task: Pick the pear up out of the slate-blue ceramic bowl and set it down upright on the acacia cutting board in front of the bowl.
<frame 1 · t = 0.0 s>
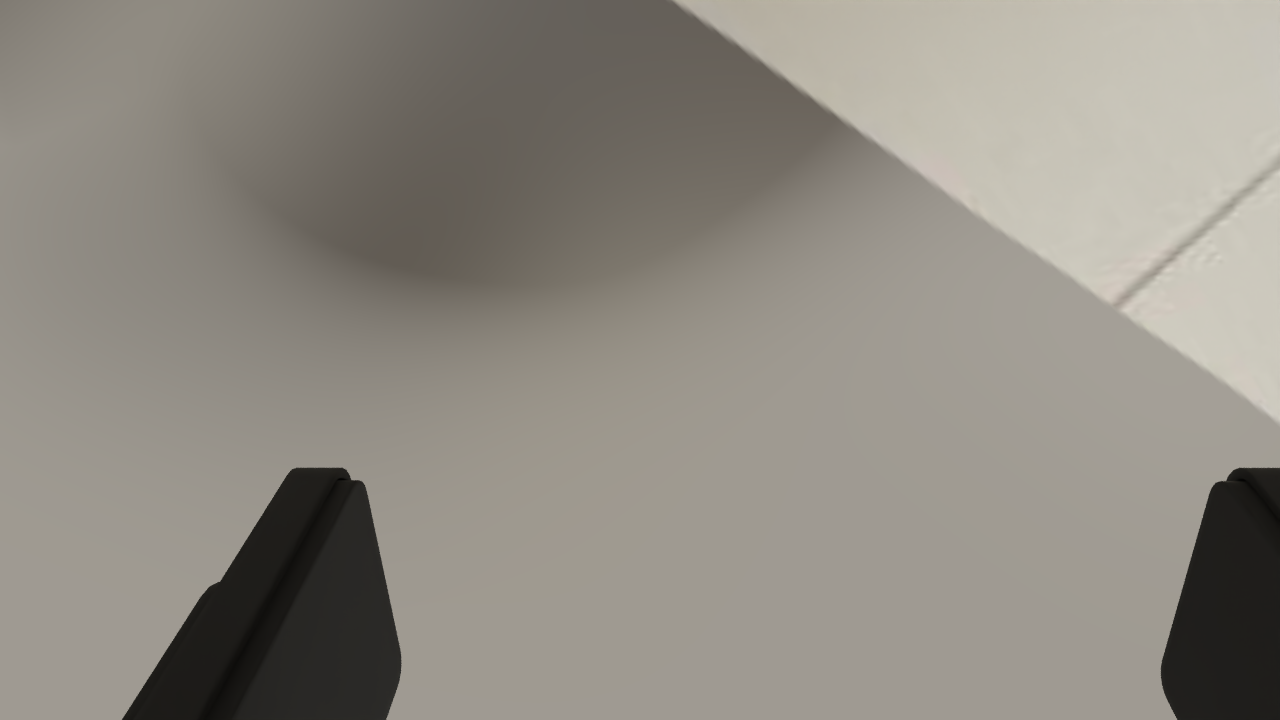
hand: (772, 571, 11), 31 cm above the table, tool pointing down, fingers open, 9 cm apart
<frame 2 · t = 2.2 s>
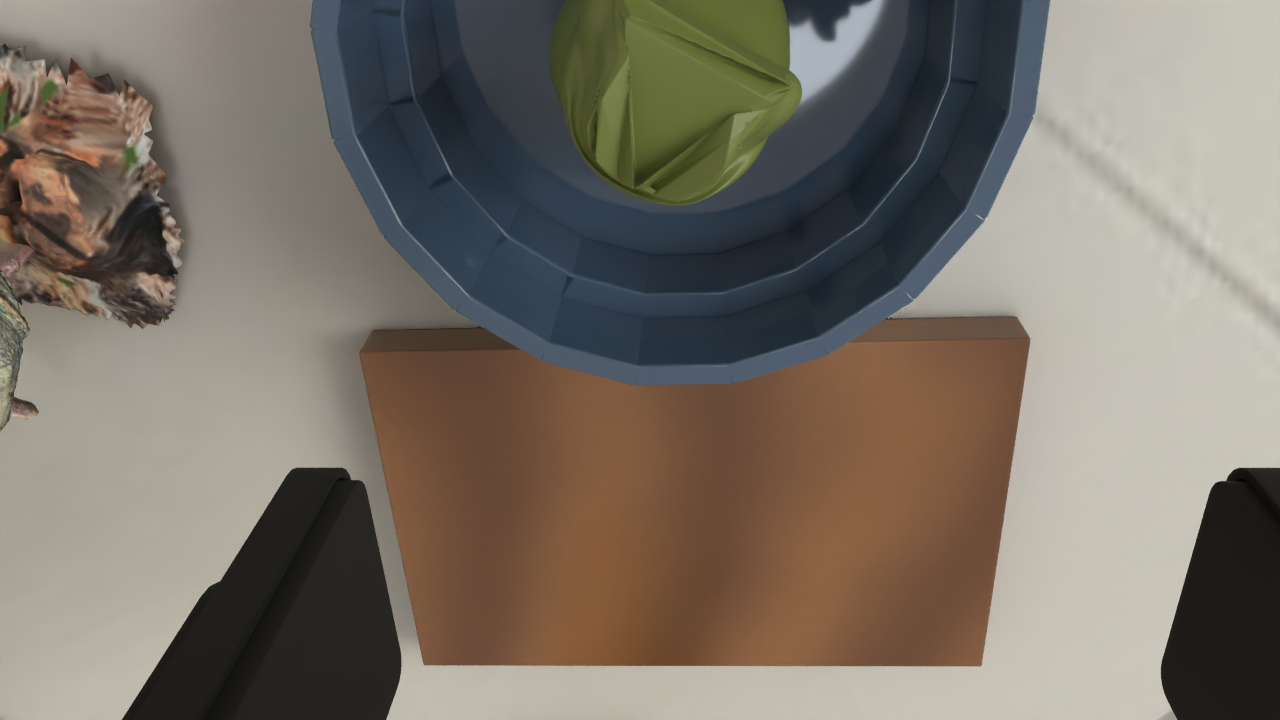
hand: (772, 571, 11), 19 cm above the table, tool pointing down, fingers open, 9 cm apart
pear: (677, 24, 27), resting on bowl
bowl: (678, 21, 27), on the table
cutting board: (692, 493, 34), on the table
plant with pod: (63, 216, 31), on the table
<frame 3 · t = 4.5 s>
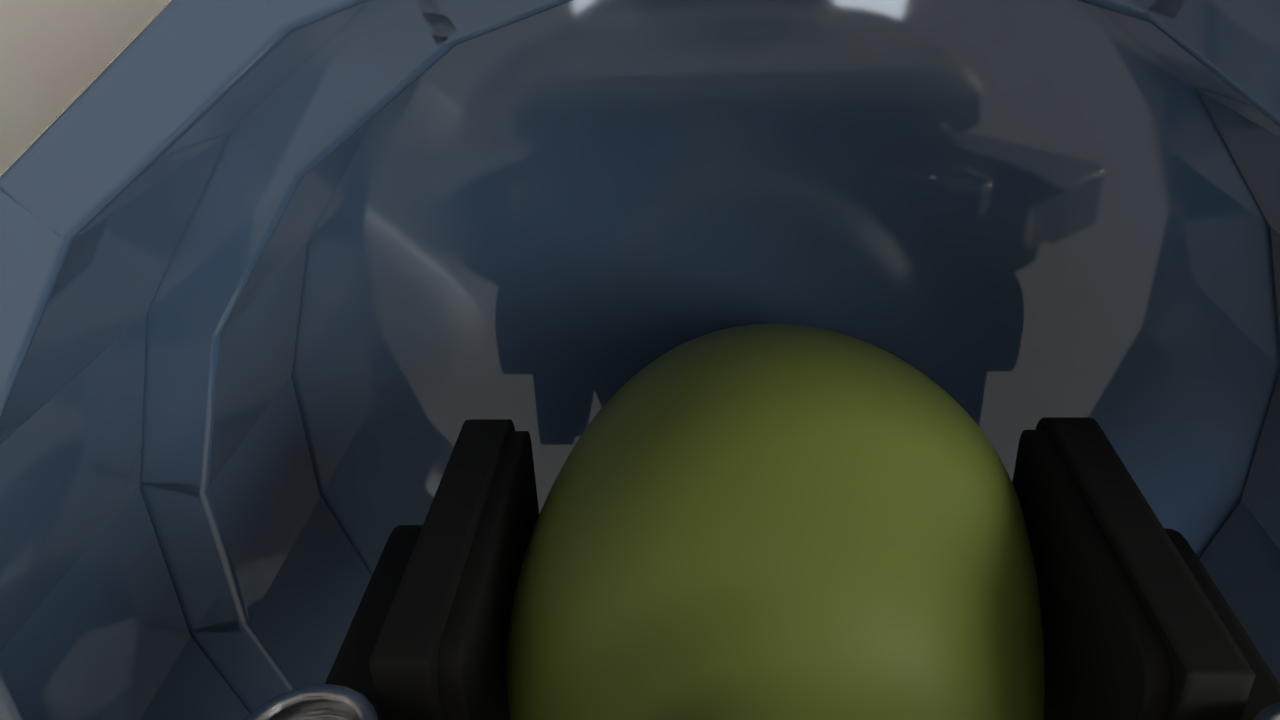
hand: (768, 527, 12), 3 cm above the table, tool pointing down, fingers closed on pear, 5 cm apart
pear: (766, 426, 14), resting on bowl, touching gripper
bowl: (765, 414, 14), on the table
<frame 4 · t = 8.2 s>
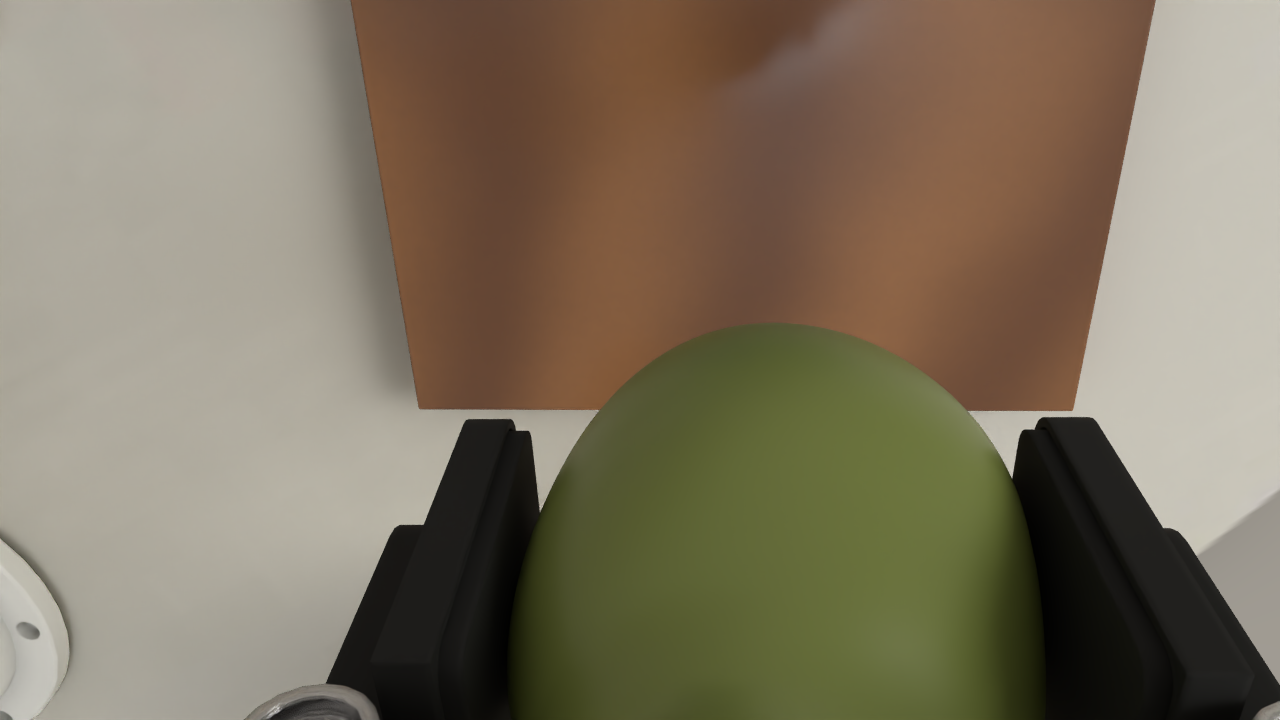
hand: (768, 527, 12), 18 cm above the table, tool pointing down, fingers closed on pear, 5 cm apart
pear: (766, 426, 14), point 16 cm above the table, touching gripper
cutting board: (739, 191, 29), on the table
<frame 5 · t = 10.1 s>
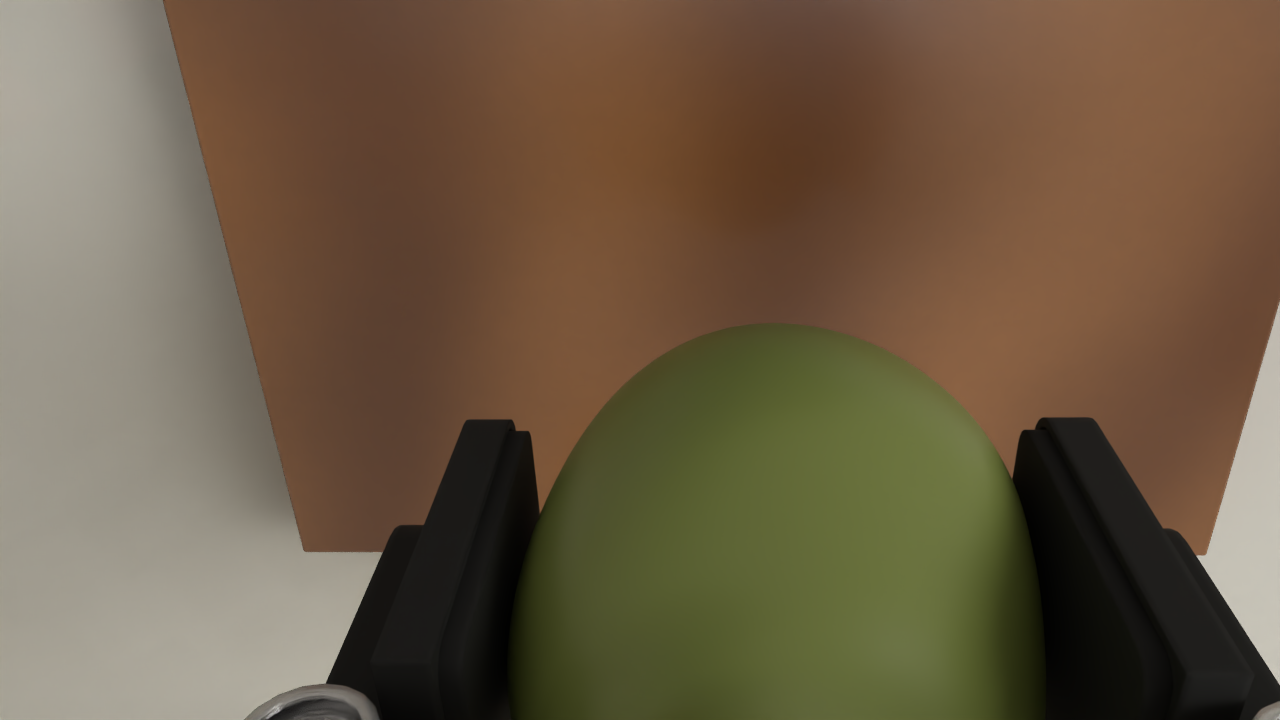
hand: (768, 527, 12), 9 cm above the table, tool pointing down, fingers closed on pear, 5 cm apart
pear: (766, 426, 14), point 7 cm above the table, touching gripper
cutting board: (740, 258, 21), on the table
when the fingers open (4 cm above the table, at t = 11.9 s): pear stays where it is, resting on cutting board.
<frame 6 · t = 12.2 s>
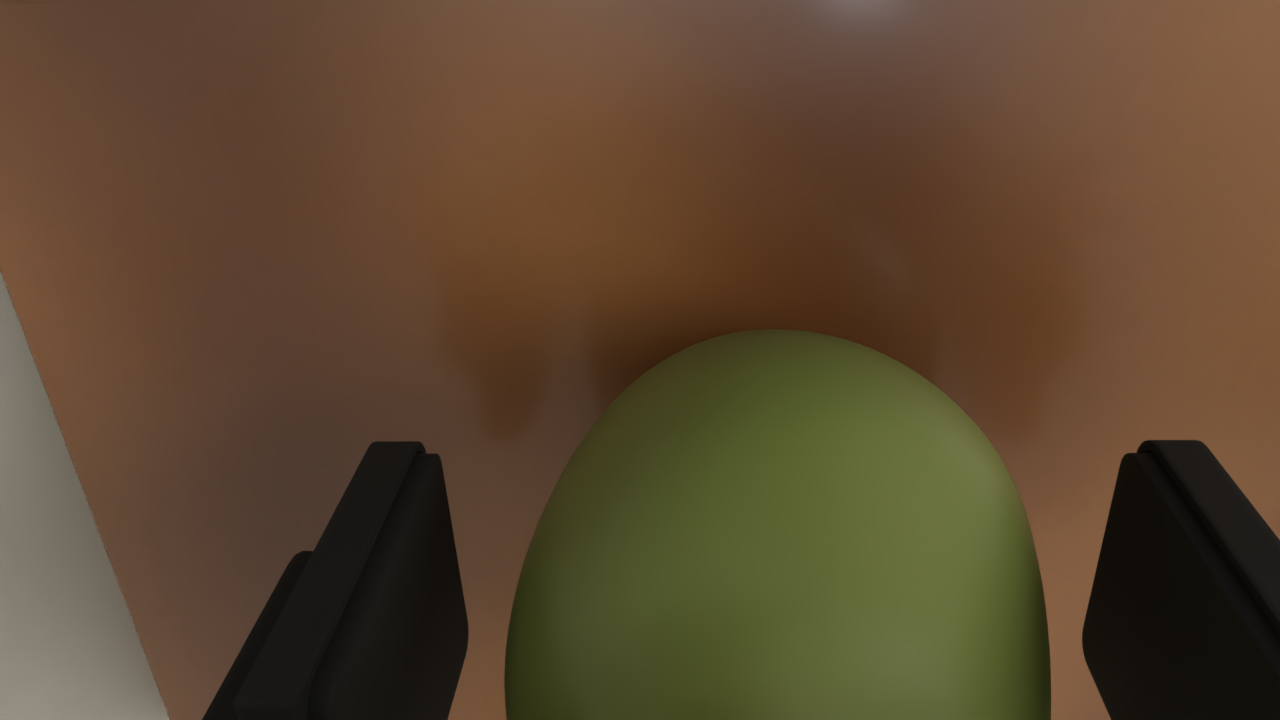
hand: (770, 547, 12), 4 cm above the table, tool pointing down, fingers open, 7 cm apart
pear: (767, 432, 14), point 1 cm above the table, touching cutting board
cutting board: (758, 412, 15), on the table
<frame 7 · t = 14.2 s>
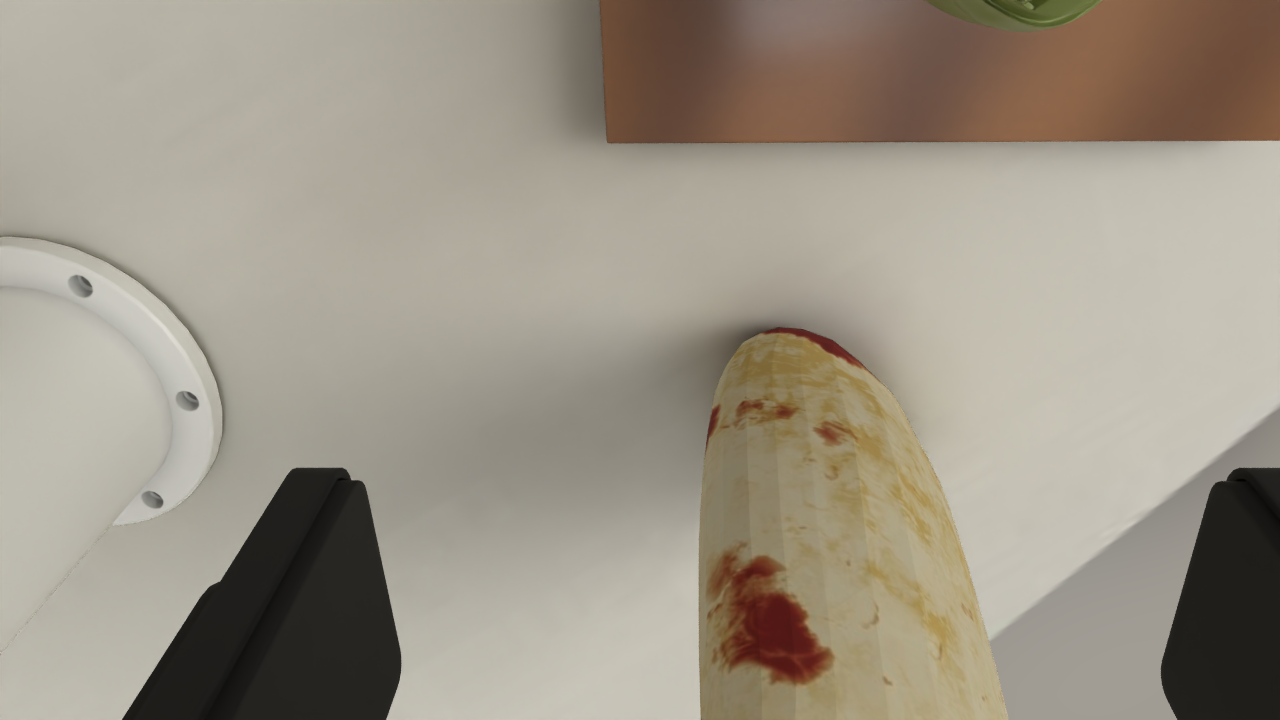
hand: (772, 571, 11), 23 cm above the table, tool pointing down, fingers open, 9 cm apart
food model: (813, 393, 37), on the table
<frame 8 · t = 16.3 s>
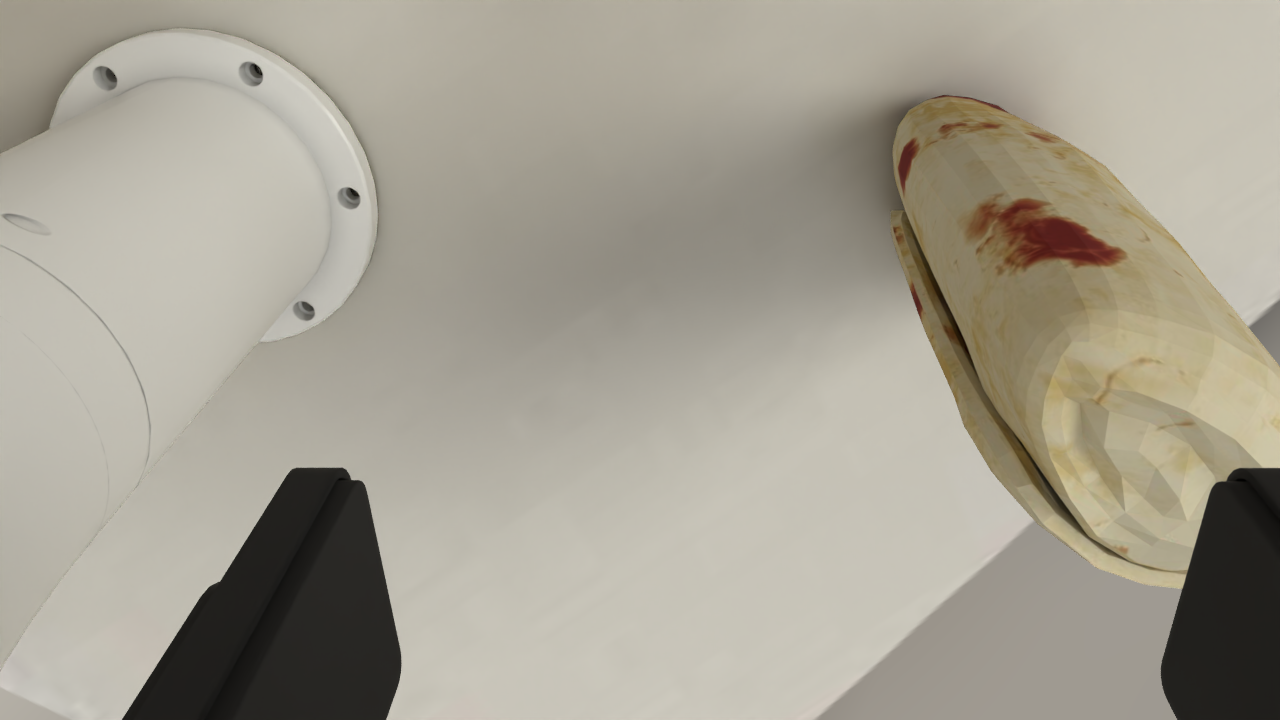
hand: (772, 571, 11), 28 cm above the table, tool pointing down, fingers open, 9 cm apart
food model: (967, 173, 38), on the table
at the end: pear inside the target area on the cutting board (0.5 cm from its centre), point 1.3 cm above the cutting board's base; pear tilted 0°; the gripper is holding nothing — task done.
